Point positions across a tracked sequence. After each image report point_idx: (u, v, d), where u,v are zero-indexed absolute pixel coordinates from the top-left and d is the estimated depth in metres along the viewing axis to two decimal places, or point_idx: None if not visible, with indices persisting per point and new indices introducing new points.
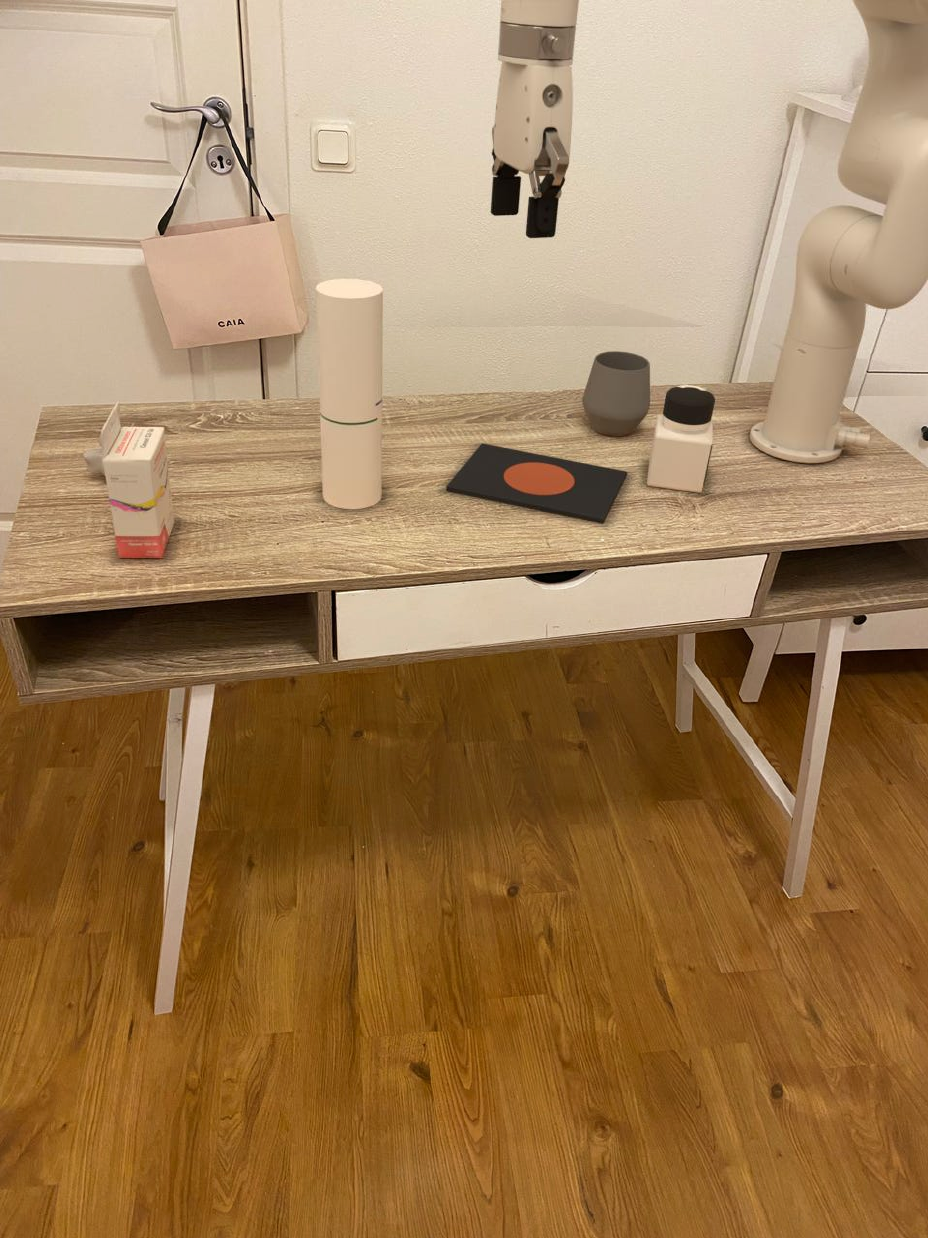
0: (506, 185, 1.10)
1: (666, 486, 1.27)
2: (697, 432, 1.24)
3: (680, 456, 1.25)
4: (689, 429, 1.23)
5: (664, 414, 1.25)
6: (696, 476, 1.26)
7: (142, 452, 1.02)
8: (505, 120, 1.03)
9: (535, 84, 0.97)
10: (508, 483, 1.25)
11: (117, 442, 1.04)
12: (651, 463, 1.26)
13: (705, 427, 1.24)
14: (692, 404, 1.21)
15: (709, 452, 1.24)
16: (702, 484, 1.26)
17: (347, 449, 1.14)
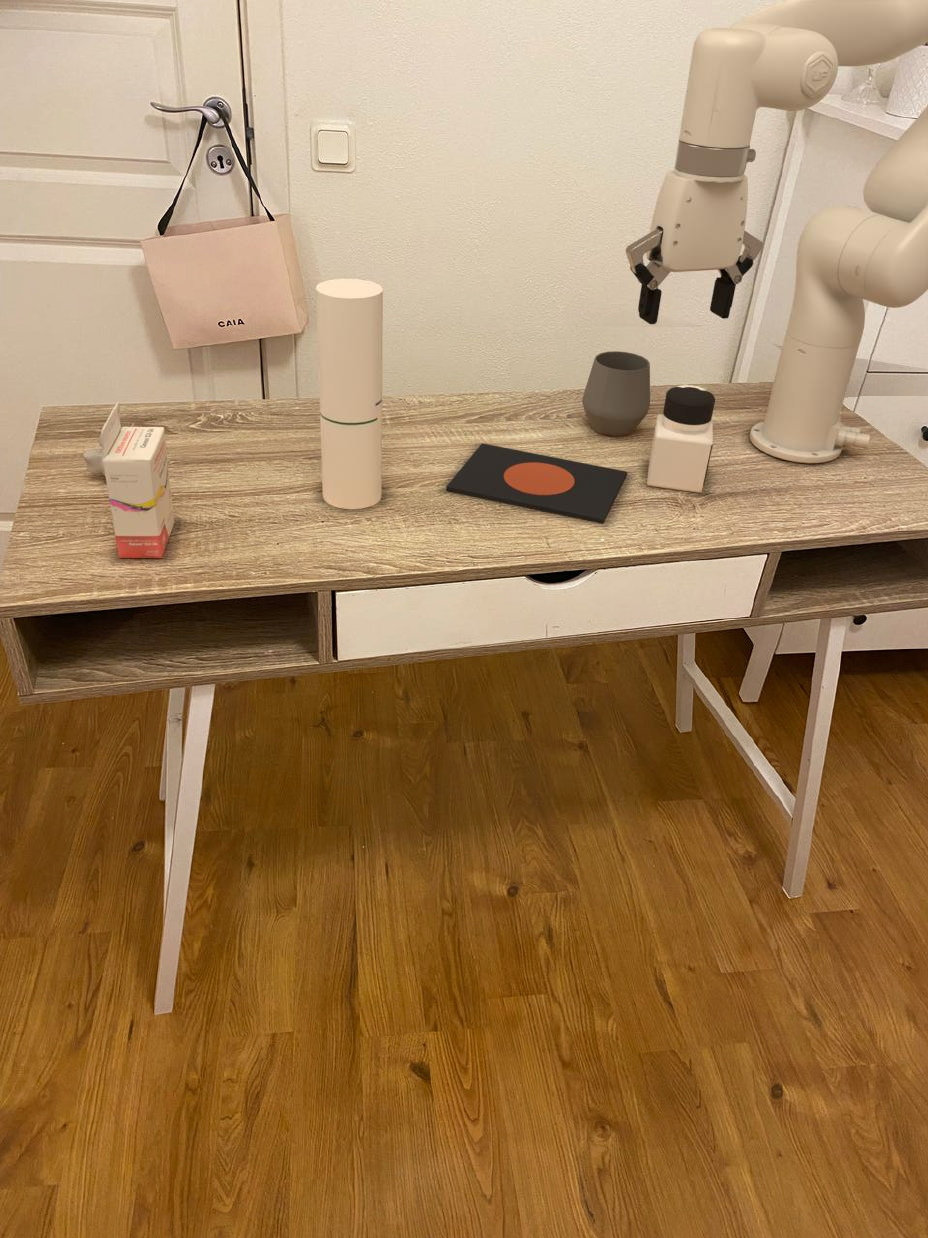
0: None
1: (666, 486, 1.27)
2: (697, 432, 1.24)
3: (680, 456, 1.25)
4: (689, 429, 1.23)
5: (664, 414, 1.25)
6: (696, 476, 1.26)
7: (142, 452, 1.02)
8: (704, 233, 1.10)
9: (747, 192, 1.10)
10: (508, 483, 1.25)
11: (117, 442, 1.04)
12: (651, 463, 1.26)
13: (705, 427, 1.24)
14: (693, 404, 1.21)
15: (709, 452, 1.24)
16: (702, 484, 1.26)
17: (347, 449, 1.14)
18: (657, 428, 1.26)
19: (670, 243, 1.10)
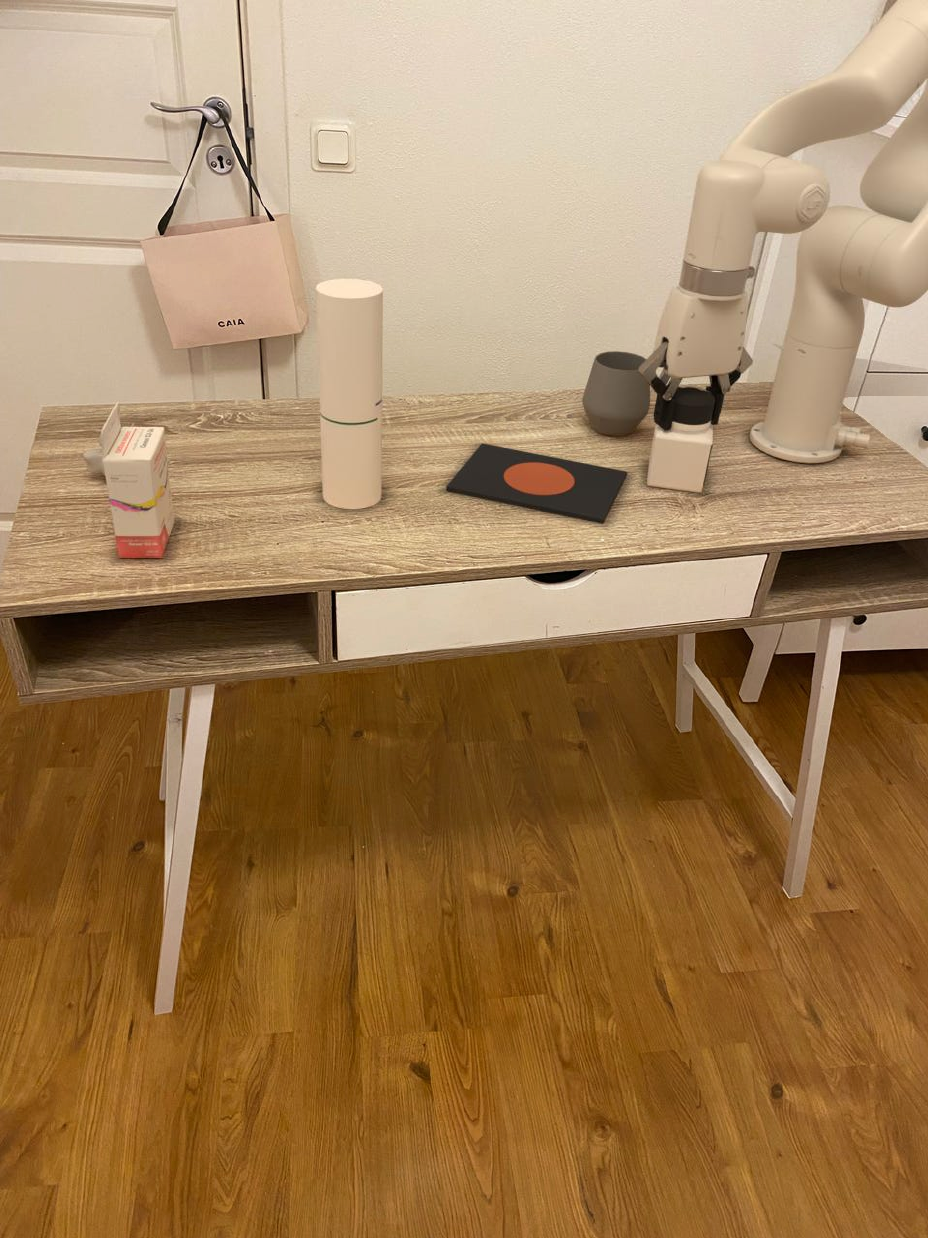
0: None
1: (666, 486, 1.27)
2: (697, 432, 1.24)
3: (680, 456, 1.25)
4: (689, 429, 1.23)
5: None
6: (696, 476, 1.26)
7: (142, 452, 1.02)
8: (707, 344, 1.17)
9: None
10: (508, 483, 1.25)
11: (117, 442, 1.04)
12: (651, 463, 1.26)
13: (705, 427, 1.24)
14: (692, 404, 1.21)
15: (709, 452, 1.24)
16: (702, 484, 1.26)
17: (347, 449, 1.14)
18: (657, 428, 1.26)
19: (675, 354, 1.17)
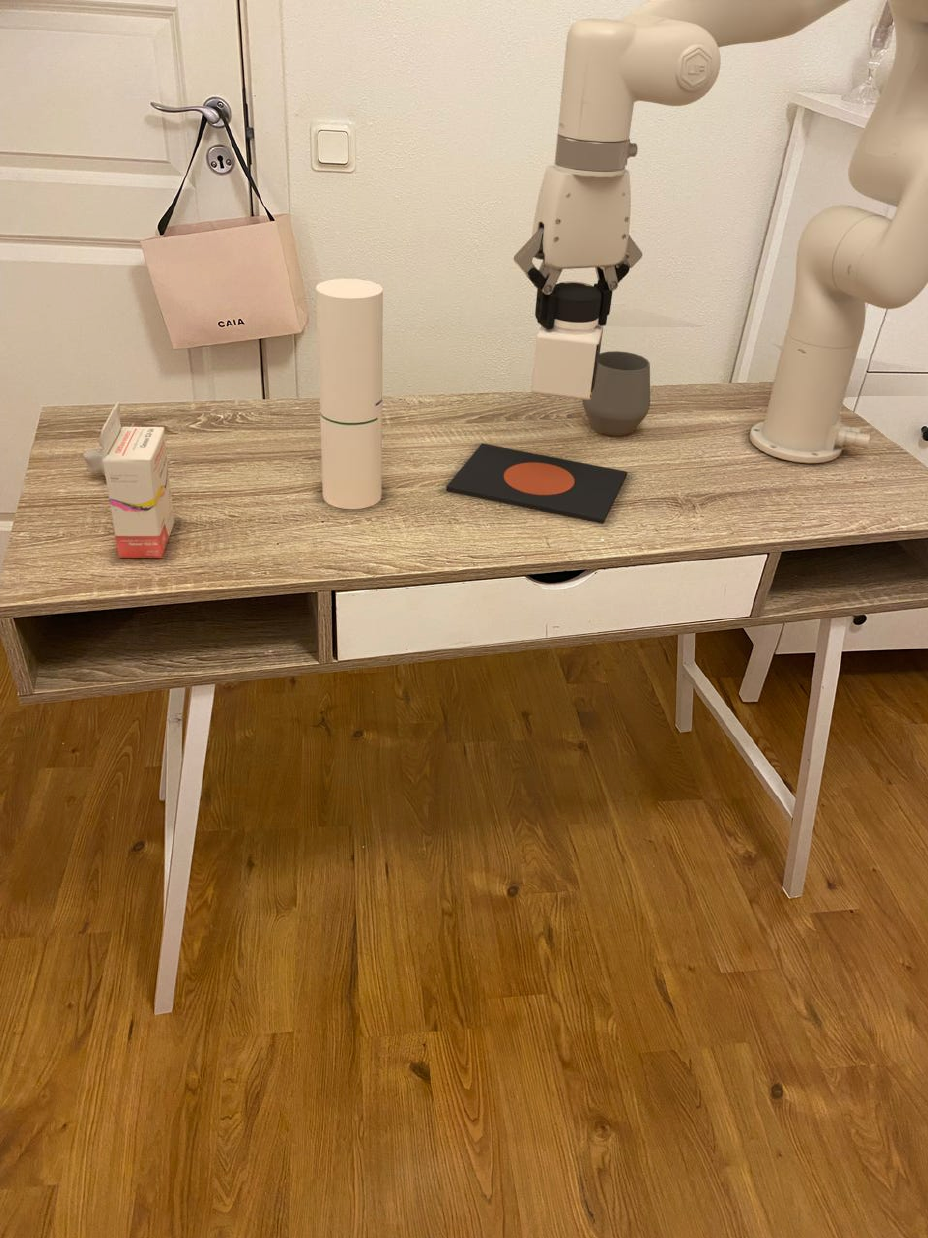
0: None
1: (551, 393, 1.17)
2: (583, 331, 1.14)
3: (565, 357, 1.14)
4: (572, 327, 1.13)
5: None
6: (582, 381, 1.15)
7: (142, 452, 1.02)
8: (586, 229, 1.07)
9: None
10: (508, 483, 1.25)
11: (117, 442, 1.04)
12: (534, 367, 1.16)
13: (591, 326, 1.14)
14: (575, 298, 1.11)
15: (595, 353, 1.13)
16: (590, 390, 1.16)
17: (347, 449, 1.14)
18: (540, 328, 1.15)
19: (551, 239, 1.07)
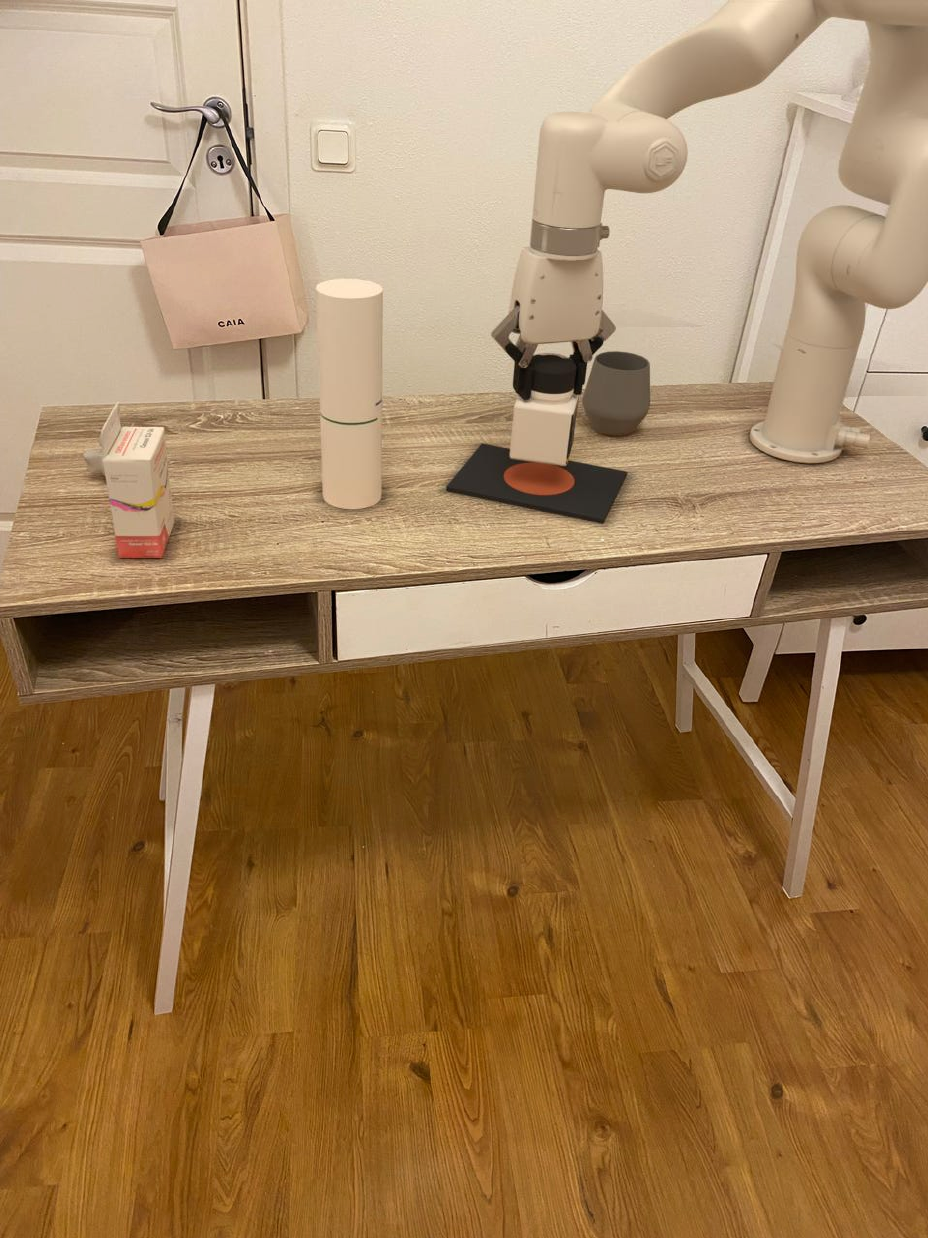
0: None
1: (529, 459, 1.21)
2: (558, 402, 1.18)
3: (541, 426, 1.19)
4: (548, 398, 1.17)
5: None
6: (558, 448, 1.20)
7: (142, 452, 1.02)
8: (560, 307, 1.12)
9: (602, 268, 1.12)
10: (508, 483, 1.25)
11: (117, 442, 1.04)
12: (512, 434, 1.20)
13: (566, 396, 1.18)
14: (550, 371, 1.16)
15: (570, 423, 1.18)
16: (565, 457, 1.20)
17: (347, 449, 1.14)
18: (518, 398, 1.20)
19: (526, 318, 1.11)
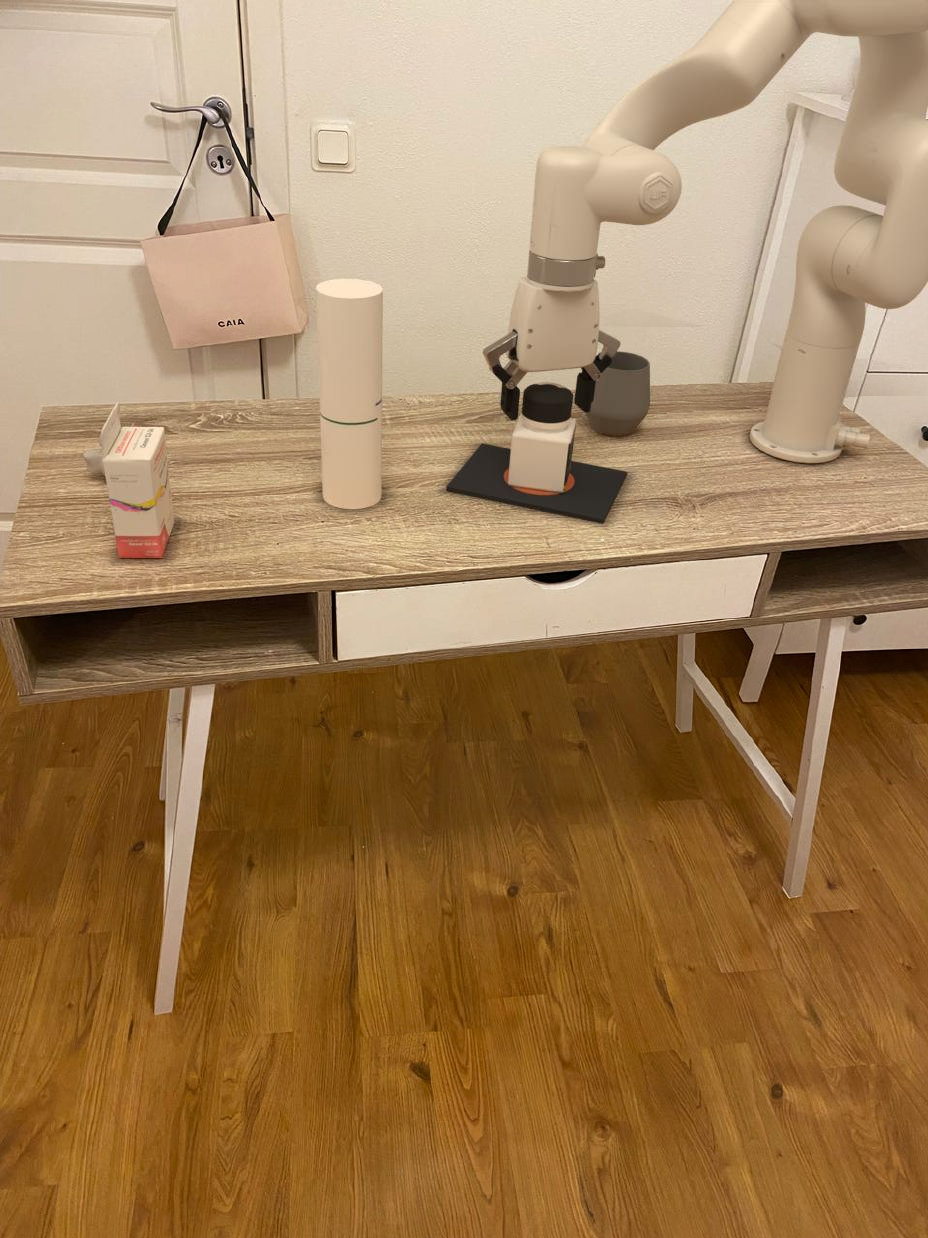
0: None
1: (527, 486, 1.24)
2: (555, 431, 1.20)
3: (539, 455, 1.21)
4: (545, 427, 1.19)
5: (522, 412, 1.21)
6: (556, 476, 1.22)
7: (142, 452, 1.02)
8: (557, 336, 1.14)
9: None
10: None
11: (117, 442, 1.04)
12: (510, 462, 1.22)
13: (563, 425, 1.20)
14: (547, 401, 1.18)
15: (567, 451, 1.20)
16: (563, 484, 1.23)
17: (347, 449, 1.14)
18: (516, 426, 1.22)
19: (524, 346, 1.13)
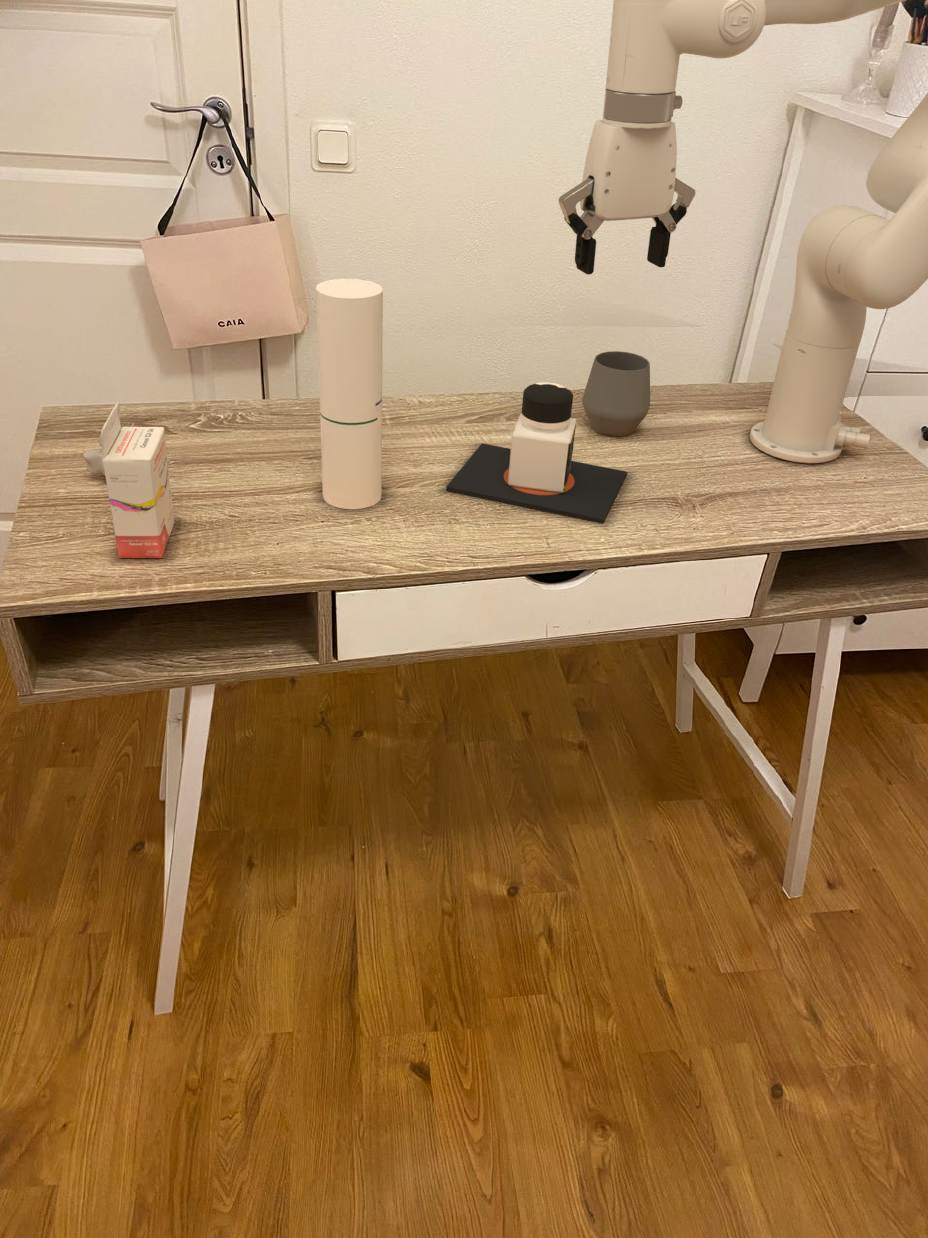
0: None
1: (527, 486, 1.24)
2: (555, 431, 1.20)
3: (539, 455, 1.21)
4: (545, 427, 1.19)
5: (522, 412, 1.21)
6: (556, 476, 1.22)
7: (142, 452, 1.02)
8: (635, 180, 1.11)
9: None
10: None
11: (117, 442, 1.04)
12: (510, 462, 1.22)
13: (563, 425, 1.20)
14: (547, 401, 1.18)
15: (567, 451, 1.20)
16: (563, 484, 1.23)
17: (347, 449, 1.14)
18: (516, 426, 1.22)
19: (601, 191, 1.11)
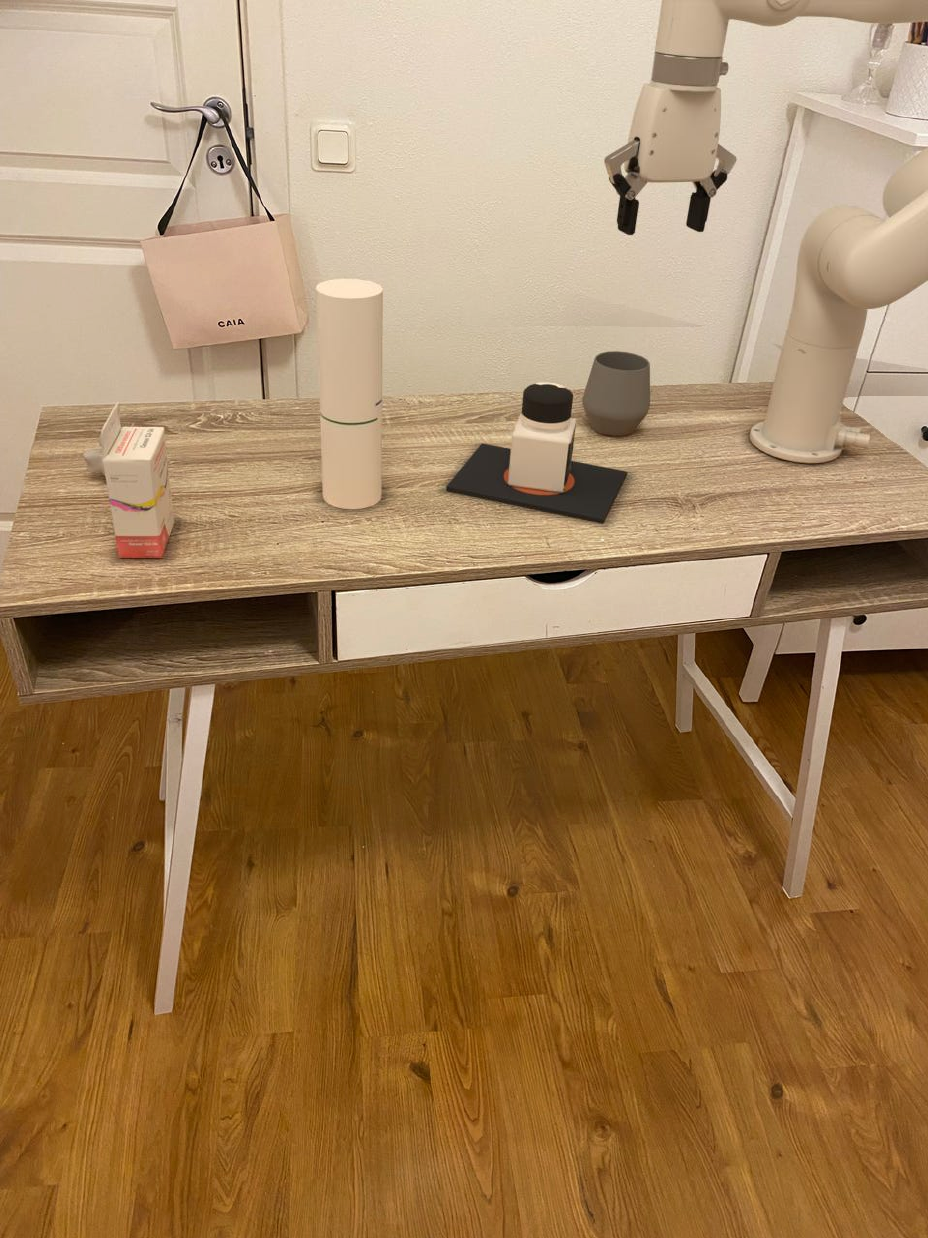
0: None
1: (527, 486, 1.24)
2: (555, 431, 1.20)
3: (539, 455, 1.21)
4: (545, 427, 1.19)
5: (522, 412, 1.21)
6: (556, 476, 1.22)
7: (142, 452, 1.02)
8: (680, 143, 1.14)
9: None
10: None
11: (117, 442, 1.04)
12: (510, 462, 1.22)
13: (563, 425, 1.20)
14: (547, 401, 1.18)
15: (567, 451, 1.20)
16: (563, 484, 1.23)
17: (347, 449, 1.14)
18: (516, 426, 1.22)
19: (647, 152, 1.14)
